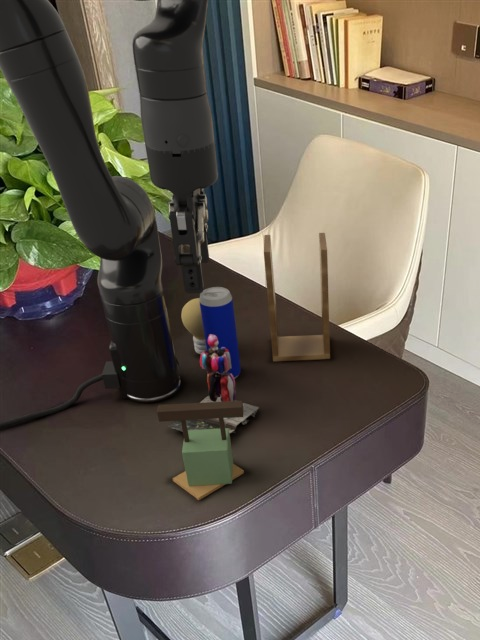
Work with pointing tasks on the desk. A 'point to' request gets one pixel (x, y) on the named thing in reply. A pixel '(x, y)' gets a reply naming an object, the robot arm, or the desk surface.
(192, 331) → the light bulb
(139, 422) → the desk surface
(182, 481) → the mat
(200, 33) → the robot arm
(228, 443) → the green block with crossbars
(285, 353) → the wooden frame
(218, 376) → the statue
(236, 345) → the beverage can
